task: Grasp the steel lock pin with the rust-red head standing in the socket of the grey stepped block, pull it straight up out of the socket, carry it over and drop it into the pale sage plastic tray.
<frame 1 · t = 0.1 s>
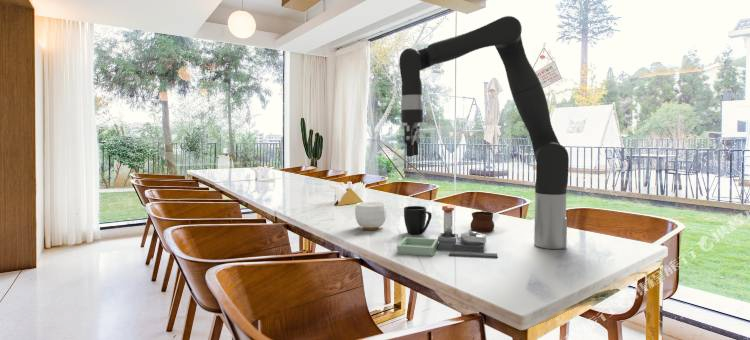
hand: (412, 155, 143), 29 cm above the table, fingers open, 8 cm apart
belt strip: (473, 255, 123), on the table
grey stepped block: (462, 246, 133), on the table
mug: (418, 234, 151), on the table
cup: (370, 228, 162), on the table
ceramic pot: (482, 231, 156), on the table
lock pin: (448, 239, 134), point 2 cm above the table, touching grey stepped block
tray: (418, 250, 130), on the table
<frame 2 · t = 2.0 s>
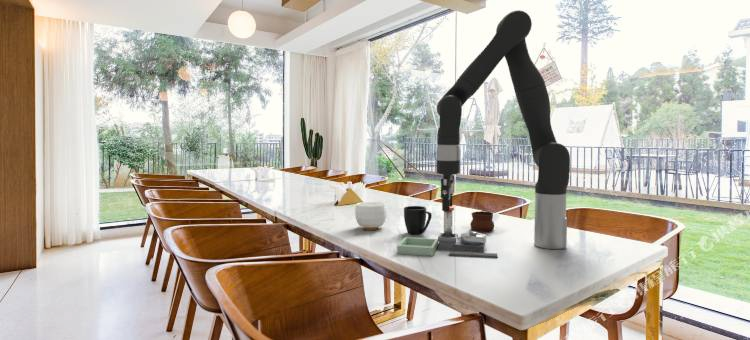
hand: (447, 208, 133), 12 cm above the table, fingers open, 8 cm apart
nothing on the table moved.
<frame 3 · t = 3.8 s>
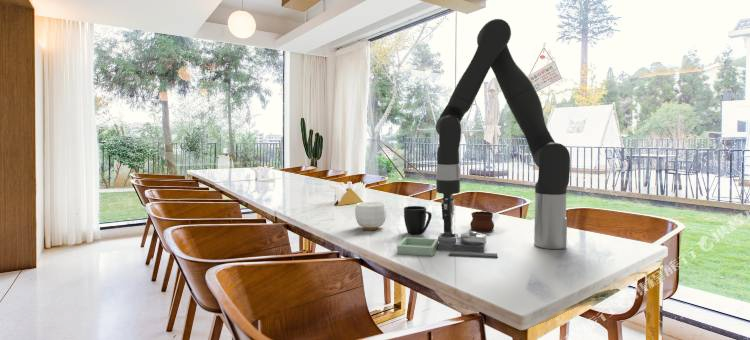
hand: (448, 230, 134), 5 cm above the table, fingers closed on lock pin, 2 cm apart
lock pin: (448, 239, 134), point 2 cm above the table, touching gripper, grey stepped block
everything else where it was.
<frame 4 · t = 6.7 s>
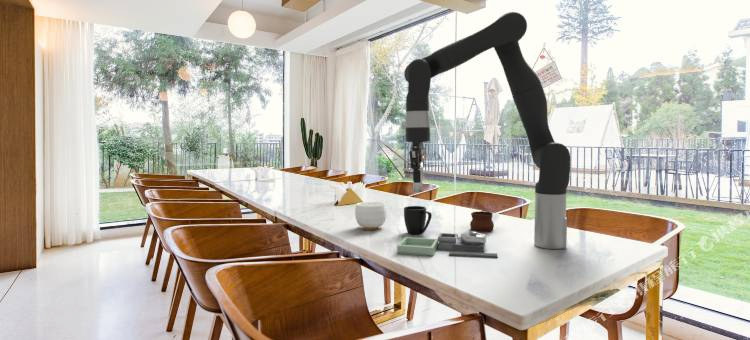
hand: (418, 181, 128), 22 cm above the table, fingers closed on lock pin, 2 cm apart
lock pin: (417, 191, 129), point 19 cm above the table, touching gripper
everything else where it was.
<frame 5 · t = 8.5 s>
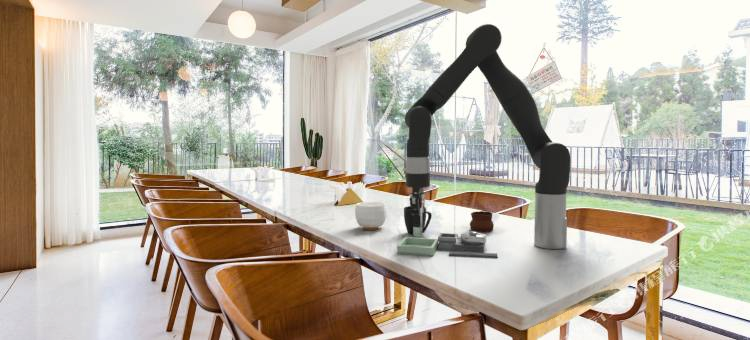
hand: (417, 225, 130), 8 cm above the table, fingers closed on lock pin, 2 cm apart
lock pin: (417, 235, 130), point 5 cm above the table, touching gripper
everything else where it was.
when the fingers open (5 cm above the table, at t = 9.7 s): lock pin drops 1 cm, resting on tray.
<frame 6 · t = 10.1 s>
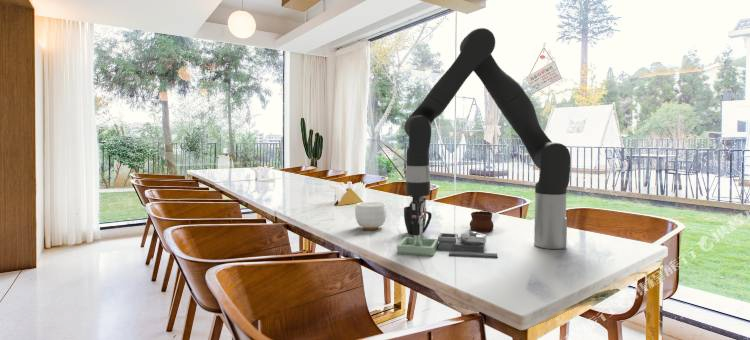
hand: (418, 232, 130), 6 cm above the table, fingers open, 6 cm apart
lock pin: (418, 247, 130), point 1 cm above the table, touching tray
everything else where it was.
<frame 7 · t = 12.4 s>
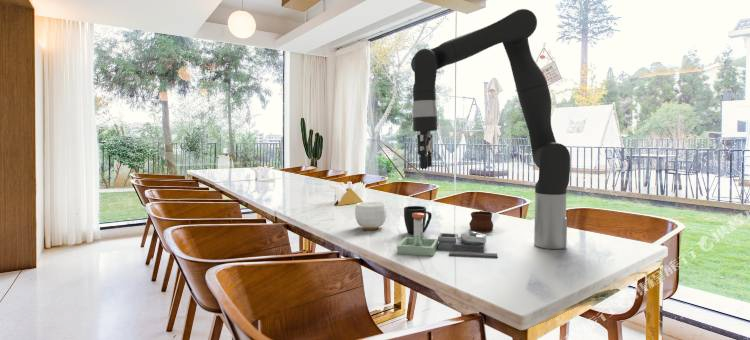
hand: (426, 167, 130), 26 cm above the table, fingers open, 8 cm apart
nothing on the table moved.
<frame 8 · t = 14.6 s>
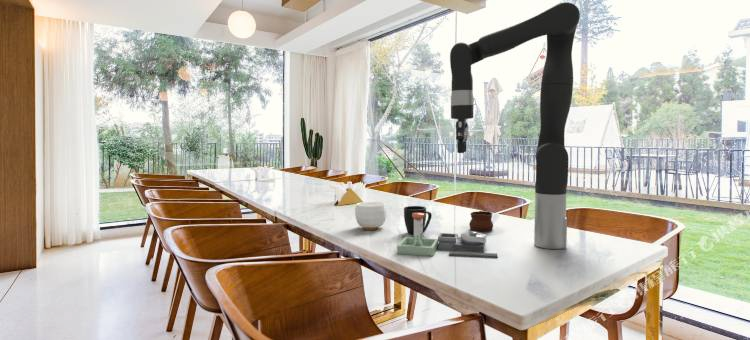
hand: (462, 152, 140), 30 cm above the table, fingers open, 8 cm apart
nothing on the table moved.
at the end: lock pin inside the target area on the tray (0.1 cm from its centre), point 0.6 cm above the tray's base; the gripper is holding nothing; lock pin touching tray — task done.
